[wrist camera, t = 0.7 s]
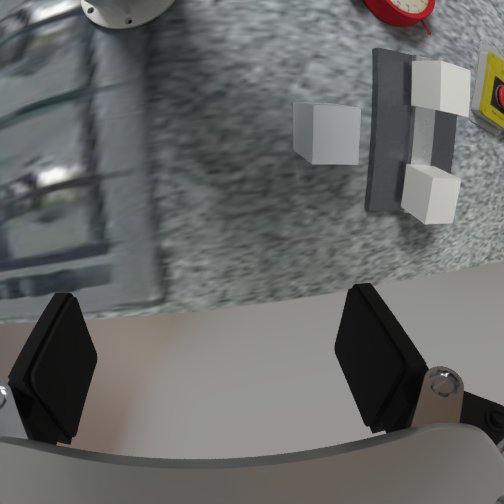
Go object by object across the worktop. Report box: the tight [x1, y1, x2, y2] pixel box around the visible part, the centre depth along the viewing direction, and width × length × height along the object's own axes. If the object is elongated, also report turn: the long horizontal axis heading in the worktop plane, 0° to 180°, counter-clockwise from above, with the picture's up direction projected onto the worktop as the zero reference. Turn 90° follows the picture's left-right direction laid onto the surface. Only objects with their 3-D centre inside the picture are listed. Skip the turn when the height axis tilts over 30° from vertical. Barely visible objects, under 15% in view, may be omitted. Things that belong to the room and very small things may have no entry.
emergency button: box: [469, 41, 504, 136], centre depth 32 cm, size 9×4×15 cm
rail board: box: [364, 48, 457, 213], centre depth 36 cm, size 22×14×2 cm, turn 1°
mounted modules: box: [401, 61, 470, 224], centre depth 32 cm, size 20×5×6 cm, turn 1°
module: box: [293, 102, 361, 165], centre depth 32 cm, size 6×5×8 cm
